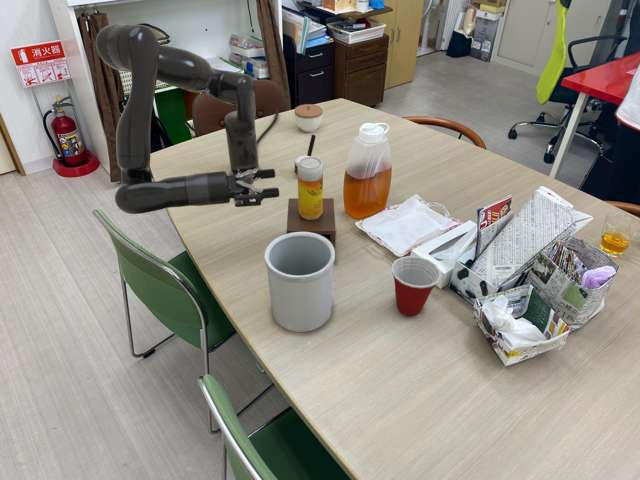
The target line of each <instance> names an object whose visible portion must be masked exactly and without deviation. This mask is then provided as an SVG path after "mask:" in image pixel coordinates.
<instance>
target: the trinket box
mask: <svg viewBox="0 0 640 480" xmlns="http://www.w3.org/2000/svg"><path fill="white" fill-rule="evenodd" d="M323 111H324V110H323V108H322V106H320V105H317V104H311V103H307V104H305V103H304V104H300V105H298V106H296V107H295V108H294V111H293V112H294V121H295V124H296V125H297V127H298V128H299V129H300V130H301V131H302V132H303V133H305V132H306V133H312V132H316V131H317V129H319V127H321V124H322V121H323V113H324V112H323Z"/></svg>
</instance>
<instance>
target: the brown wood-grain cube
mask: <svg viewBox="0 0 640 480" xmlns="http://www.w3.org/2000/svg"><path fill="white" fill-rule="evenodd" d="M334 201H335V200H334V198H333V197H331V198H330V197H329V198H327V197H326V198H325V197H324V198H323V212H322V214H321V215H320V216H319V217H318V218H317V219H314V220H308V219H305V218H303V217H302V216H301V215H300V214H299V204H298V198H297V197H295V198H293V197H291V198H288V201H287V202H288V203H287V218H286V234H289V233H293V232H311V233H315V234H319V235H321V236H323V237H325V238H326V239H327V240H329V241H330V242H331V244H332V245H333V247H334V250H335V251H336V233H337V232H336V217H335V216H336V215H335V202H334Z"/></svg>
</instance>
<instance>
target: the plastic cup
mask: <svg viewBox="0 0 640 480" xmlns="http://www.w3.org/2000/svg"><path fill="white" fill-rule="evenodd" d="M391 274H392V277H393V282H394V293H395V302H396V303H395V305H396V309H397V311H398V312H399V313H400V314H401V315H404V316H406V317H415V316H416V317H417V315H419V314H420V313H421V312H422V310H423V308H424V306H425V304H426V303H427V301H428V299H429V297H430V294H431V292H432V291H433V288H434V287H435V286H436V285H437V284H438V283H439V281H440V279H441V277H442V272H441V270H440V268H439V267H438V265H437V264H436V263H434V262H433V261H431V260H430V259H428V258H424V257H422V256H415V255H407V256H401V257H399V258H397V259H395V260H394V261H393V263H392V264H391Z"/></svg>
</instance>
